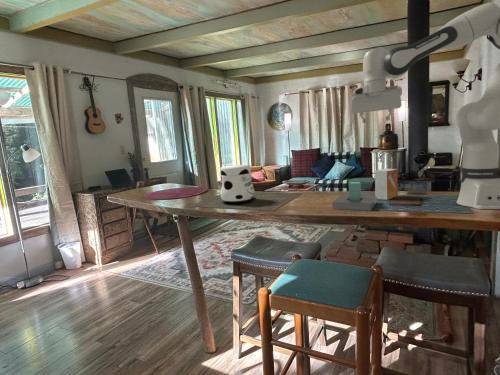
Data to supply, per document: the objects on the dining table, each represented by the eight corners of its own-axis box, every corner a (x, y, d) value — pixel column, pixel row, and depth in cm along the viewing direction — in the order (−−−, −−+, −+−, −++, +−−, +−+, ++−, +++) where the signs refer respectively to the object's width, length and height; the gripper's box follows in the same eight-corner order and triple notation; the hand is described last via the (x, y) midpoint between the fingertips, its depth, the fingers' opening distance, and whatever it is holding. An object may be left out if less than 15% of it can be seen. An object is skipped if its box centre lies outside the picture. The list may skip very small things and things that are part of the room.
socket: (376, 202, 139) (376, 196, 138) (370, 210, 126) (370, 203, 126) (341, 201, 146) (341, 195, 146) (332, 209, 134) (332, 202, 133)
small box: (387, 200, 143) (387, 171, 141) (374, 198, 148) (374, 170, 146) (397, 197, 147) (397, 168, 145) (385, 195, 152) (385, 168, 150)
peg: (361, 205, 137) (360, 182, 135) (359, 207, 133) (358, 183, 132) (351, 204, 139) (350, 181, 137) (349, 206, 135) (348, 183, 134)
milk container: (260, 201, 160) (257, 165, 157) (227, 206, 153) (224, 169, 150) (247, 196, 175) (245, 163, 173) (217, 201, 169) (214, 167, 166)
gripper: (402, 85, 134) (403, 119, 136) (352, 93, 144) (353, 124, 146) (401, 83, 129) (402, 118, 131) (349, 91, 139) (350, 124, 141)
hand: (376, 121), depth 139 cm, fingers open, 8 cm apart
